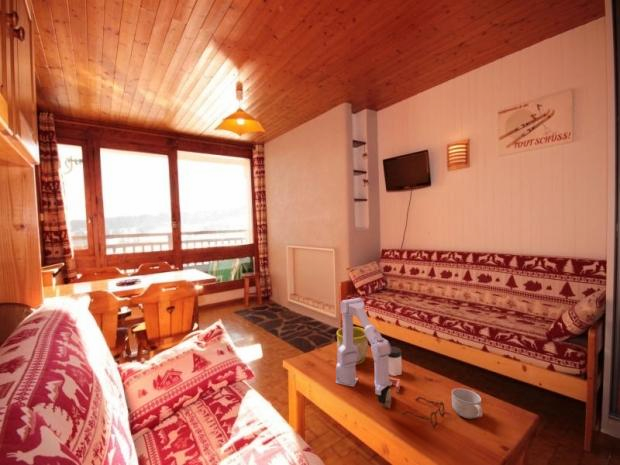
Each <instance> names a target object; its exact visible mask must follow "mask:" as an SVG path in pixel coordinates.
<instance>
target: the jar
mask: <svg viewBox="0 0 620 465" xmlns="http://www.w3.org/2000/svg"><path fill="white" fill-rule="evenodd" d="M388 364H389V376H392V377H397V376H400V375H402V373H403V372H402V349H401V348H400V347H398V346H391V353H390V354H388Z"/></svg>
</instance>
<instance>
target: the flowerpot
mask: <svg viewBox="0 0 620 465" xmlns="http://www.w3.org/2000/svg"><path fill="white" fill-rule="evenodd" d="M364 331H365V328H364V327H363V328H362V327H359V326H353V345H354V346H355V347H356V348H357V350H358V355H359V360H358V362H356V365H355V366H357V365H360V364H362V363H363V362H365V360H366V356H367V354H368V349H369V341H368V339H367V337H366V335H365V333H364ZM336 340H337V342H336V348H337V350H338V349H339V348H340V347H341V346H342V345H343V327H340V328H339V329H337V331H336Z"/></svg>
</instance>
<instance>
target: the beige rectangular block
mask: <svg viewBox="0 0 620 465" xmlns="http://www.w3.org/2000/svg"><path fill="white" fill-rule="evenodd" d="M381 405H382V408H386V409H391V405H392V388H389V389H388V391H387V396H386V401H385V404H383V403H381Z"/></svg>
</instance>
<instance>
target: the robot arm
mask: <svg viewBox="0 0 620 465" xmlns="http://www.w3.org/2000/svg"><path fill="white" fill-rule="evenodd" d="M340 314H341V315H342V328H343V345H342V346H341V347H340V348H339V349H337V354H336V360H337V363H336V366H335V383H336V384H340V385H344V386H348V387H352V388H353V387H355V386H356V384H357V382H358V380H359V378H358V377H356V366H357V365H356V362H358V360H359V355H358V350H357V348H356V347H355V346H354V345H353V327H354V317H356V318H357V320H358V321H359V323H360V324H361V326H362V327H363V329H365V331H364V333H365V335H366V337H367V341H368V343H369V344H370V345H371V346H370V350H371V353H372V359H373V362H374V363H373V364H374V366H373V367H374V388H373V389H374V392H375V395H377V397H378V401H379V404H382V403H383V404H385V401H386V396H387V391H388V389H390V386H393V385H392V382H391V381H389V377H390V374H389V364H388V354H390V353H391V347H392V346H391V344H390V342H389V341H388V340H387V339H385V337H382V335H381V333H380V331H379V330H378V328H377V327H376V325H373V324H372V323H371V321H370V318H369V317H368V315H367V313H366V311H365V302H364V300H363V299H362V298H361V297H357V298H350V299H342V300H341V302H340Z"/></svg>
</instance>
